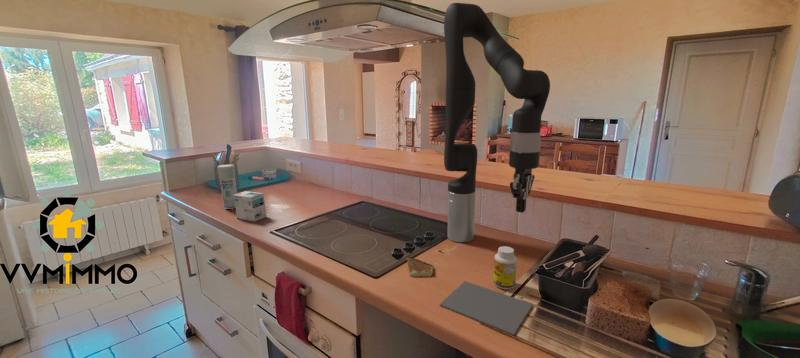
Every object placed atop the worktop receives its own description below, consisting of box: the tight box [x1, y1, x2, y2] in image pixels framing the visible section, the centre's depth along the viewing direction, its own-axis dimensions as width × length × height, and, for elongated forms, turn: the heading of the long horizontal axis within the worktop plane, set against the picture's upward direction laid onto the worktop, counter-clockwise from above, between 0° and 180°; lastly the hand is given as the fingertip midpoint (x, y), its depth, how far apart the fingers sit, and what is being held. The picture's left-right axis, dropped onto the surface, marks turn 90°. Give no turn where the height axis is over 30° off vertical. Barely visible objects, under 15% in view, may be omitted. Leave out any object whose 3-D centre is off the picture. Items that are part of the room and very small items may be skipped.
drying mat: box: [439, 280, 534, 336], centre depth 82 cm, size 13×18×1 cm
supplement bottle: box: [493, 245, 518, 290], centre depth 90 cm, size 6×6×10 cm
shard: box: [406, 255, 435, 278], centre depth 101 cm, size 11×8×2 cm
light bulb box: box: [234, 190, 267, 223], centre depth 145 cm, size 11×7×11 cm, turn 65°
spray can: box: [217, 164, 238, 210], centre depth 157 cm, size 6×6×20 cm
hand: (520, 211), depth 95 cm, fingers closed
